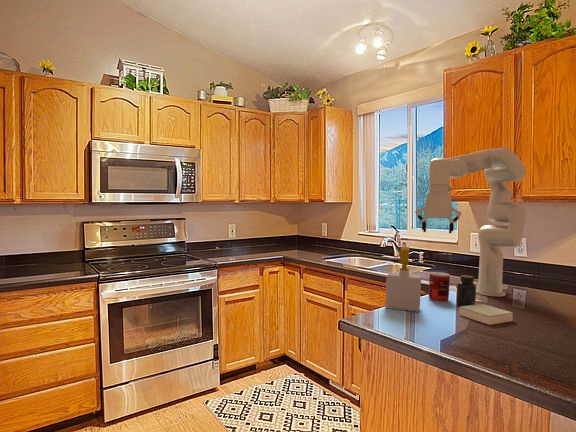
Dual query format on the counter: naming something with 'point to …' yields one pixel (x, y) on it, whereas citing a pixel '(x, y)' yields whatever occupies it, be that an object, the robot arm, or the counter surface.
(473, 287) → the supplement bottle
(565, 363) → the counter surface
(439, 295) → the canned food
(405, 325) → the counter surface
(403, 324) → the counter surface
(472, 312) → the plate
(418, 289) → the soap bottle
